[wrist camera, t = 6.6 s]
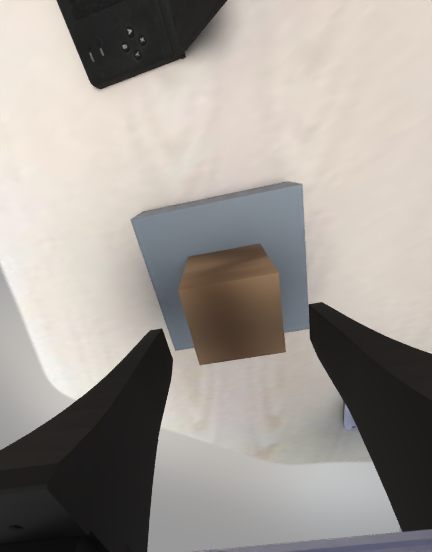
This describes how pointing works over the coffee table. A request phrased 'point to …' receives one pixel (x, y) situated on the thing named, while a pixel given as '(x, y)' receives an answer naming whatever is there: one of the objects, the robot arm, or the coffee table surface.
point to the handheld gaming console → (133, 33)
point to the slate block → (227, 246)
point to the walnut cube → (233, 304)
